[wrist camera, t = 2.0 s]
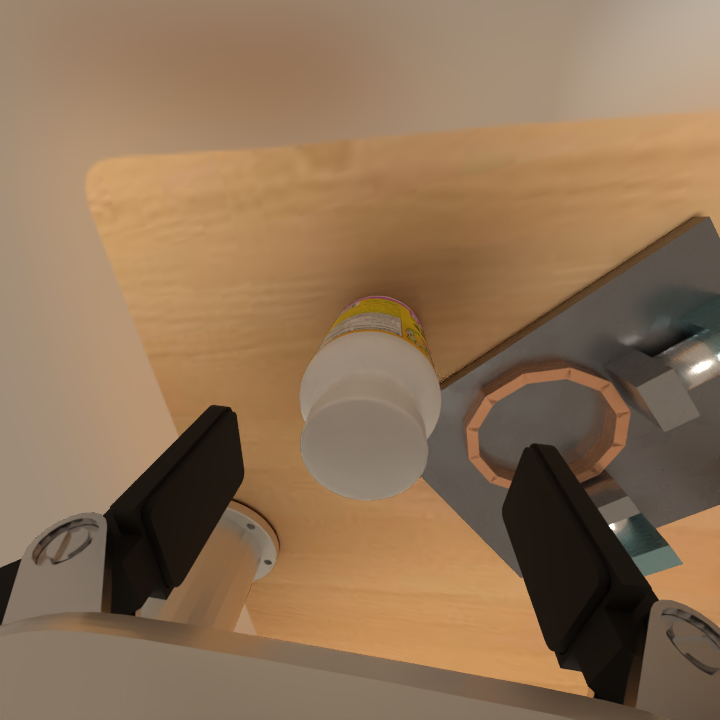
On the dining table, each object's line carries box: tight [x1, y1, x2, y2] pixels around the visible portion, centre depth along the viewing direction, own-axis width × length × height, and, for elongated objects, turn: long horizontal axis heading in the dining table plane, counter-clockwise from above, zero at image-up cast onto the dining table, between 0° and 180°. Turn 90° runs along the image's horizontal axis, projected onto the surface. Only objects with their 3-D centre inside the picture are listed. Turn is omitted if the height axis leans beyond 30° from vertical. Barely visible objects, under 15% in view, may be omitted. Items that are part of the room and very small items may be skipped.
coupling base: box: [421, 217, 720, 578], centre depth 22 cm, size 24×22×5 cm
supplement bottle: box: [300, 296, 441, 500], centre depth 17 cm, size 7×7×13 cm
